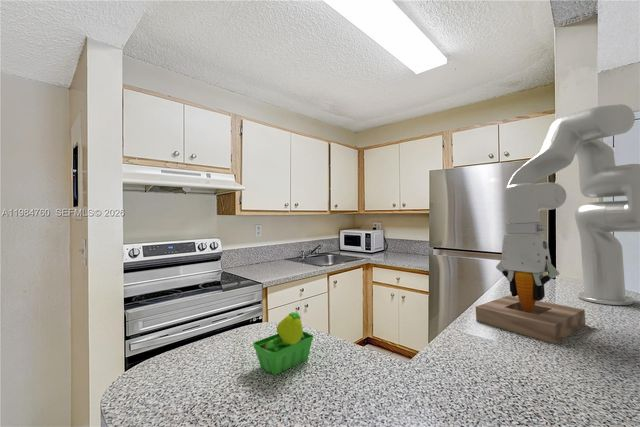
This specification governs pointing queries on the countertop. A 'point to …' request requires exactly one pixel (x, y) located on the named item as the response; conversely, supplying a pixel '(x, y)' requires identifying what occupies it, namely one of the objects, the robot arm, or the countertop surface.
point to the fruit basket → (284, 346)
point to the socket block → (532, 318)
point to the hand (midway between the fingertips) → (526, 297)
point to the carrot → (525, 290)
